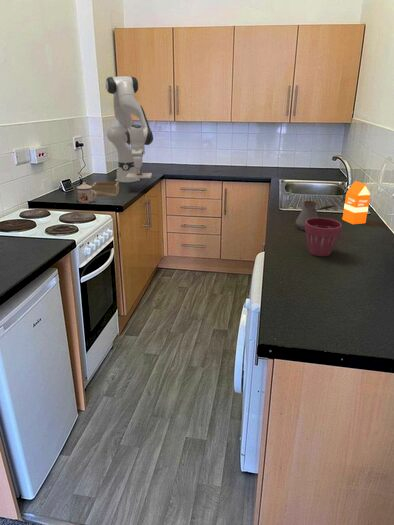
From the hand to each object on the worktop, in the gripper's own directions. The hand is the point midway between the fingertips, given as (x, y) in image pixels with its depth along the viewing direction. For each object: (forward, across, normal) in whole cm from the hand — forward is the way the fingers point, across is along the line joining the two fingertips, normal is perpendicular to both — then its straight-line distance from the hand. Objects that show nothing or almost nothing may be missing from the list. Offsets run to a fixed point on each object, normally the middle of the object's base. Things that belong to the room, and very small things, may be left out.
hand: (139, 173), depth 257 cm
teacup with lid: (+13, +28, -29) cm, 42 cm away
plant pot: (+14, +116, +82) cm, 142 cm away
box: (+12, +9, -21) cm, 26 cm away
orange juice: (+14, +74, +115) cm, 137 cm away
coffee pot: (+14, +89, +89) cm, 126 cm away
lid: (+2, 0, 0) cm, 2 cm away
